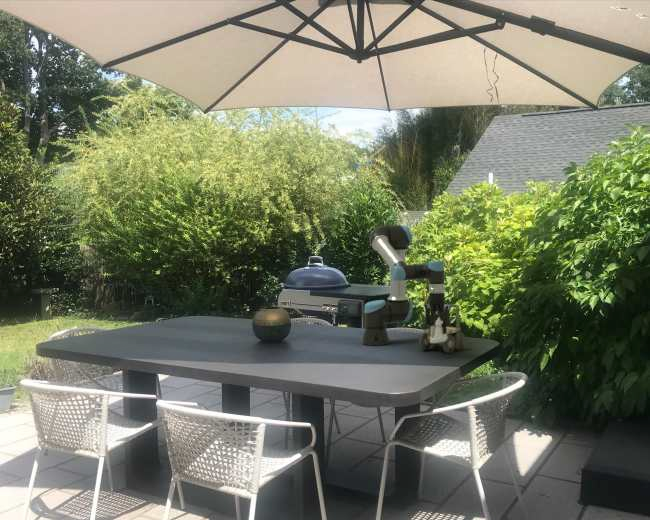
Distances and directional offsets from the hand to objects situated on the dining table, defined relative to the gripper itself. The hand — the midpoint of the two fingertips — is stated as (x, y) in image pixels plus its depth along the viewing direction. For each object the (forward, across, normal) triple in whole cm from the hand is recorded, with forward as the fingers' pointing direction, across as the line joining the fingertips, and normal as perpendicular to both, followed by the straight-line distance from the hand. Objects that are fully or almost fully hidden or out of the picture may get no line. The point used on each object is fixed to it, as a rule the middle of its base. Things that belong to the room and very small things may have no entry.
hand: (438, 339), depth 310 cm
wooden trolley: (+8, -7, +15) cm, 19 cm away
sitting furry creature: (+1, 0, 0) cm, 1 cm away
